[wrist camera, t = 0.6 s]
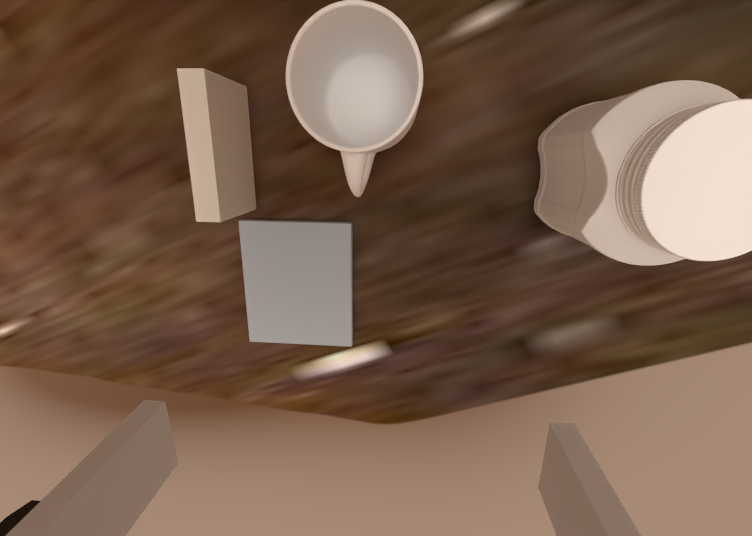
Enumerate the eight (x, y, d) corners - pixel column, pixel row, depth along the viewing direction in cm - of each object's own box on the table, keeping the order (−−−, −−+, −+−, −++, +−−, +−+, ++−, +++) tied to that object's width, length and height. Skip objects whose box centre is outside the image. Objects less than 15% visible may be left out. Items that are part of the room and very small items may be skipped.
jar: (539, 106, 32) (644, 68, 18) (657, 98, 32) (864, 52, 17) (531, 237, 36) (614, 292, 21) (637, 233, 35) (798, 288, 21)
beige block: (193, 86, 34) (136, 68, 27) (246, 86, 34) (204, 68, 27) (207, 208, 37) (160, 220, 30) (256, 209, 37) (220, 222, 30)
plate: (242, 219, 37) (238, 220, 36) (352, 221, 37) (351, 223, 36) (253, 337, 41) (249, 341, 40) (353, 341, 40) (351, 346, 39)
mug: (319, 187, 36) (285, 199, 26) (323, 45, 32) (284, -5, 22) (409, 194, 35) (411, 209, 25) (423, 51, 32) (430, 2, 22)
